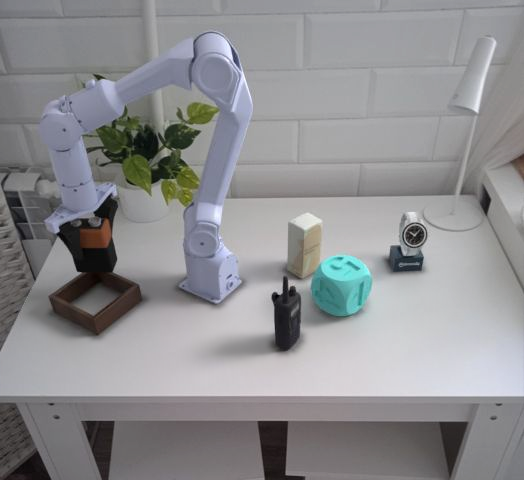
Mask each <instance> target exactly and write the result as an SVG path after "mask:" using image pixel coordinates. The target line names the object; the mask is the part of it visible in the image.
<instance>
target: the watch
mask: <svg viewBox="0 0 524 480" xmlns="http://www.w3.org/2000/svg"><path fill="white" fill-rule="evenodd" d="M398 233H399V234H398V239H399V241H398V242H399V243H400V244H395V245H390V247H389V255H388V260H389V261H388V262H389V264H390V267H391V269H392V272H394V273H398V272H414V271H415V272H417V271H422V270H423V264H424V260H425V259H424V258H425V256H424V254H423V252H422V249H423V248H424V245H425V244H426V242H427V241H428V237H430V231H428V229H427V227H426V226H425V223H424V221H423V218H421V217H420V215H419V213H418V212H417V211H408V212H402V214H401V218H400V222H399V231H398Z"/></svg>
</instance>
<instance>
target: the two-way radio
mask: <svg viewBox="0 0 524 480" xmlns="http://www.w3.org/2000/svg"><path fill="white" fill-rule="evenodd" d="M270 297H271V298H270V299H271V301H272V304H273V308H274V309H273V323H274V341H275V345H276V346H277V348H278V349H280V350H283V351H289V350H291V348H292V347H294V345H295V344H296V343H297V342H298V340H299V339H300V337H301V324H302V320H301V319H302V318H301V316H302V296H301V293H300V292H298V291H297V287H296V286H295V285H290V286H289V276H288V275H284V276H283V277H282V293H280V294H279V293H278V292H277V291H273V292H272V293H271V295H270Z"/></svg>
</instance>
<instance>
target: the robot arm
mask: <svg viewBox="0 0 524 480" xmlns="http://www.w3.org/2000/svg"><path fill="white" fill-rule="evenodd" d="M192 83H193V84H194V86H195V87H196V89H197V90H198V91H199V92H200V93H201V94H203V96H205V97H207V98H208V99H210V100H211V101H213V102H214V104H215V105H216V107H217V108H218V110H219V112H218V116H217V118H216V123H215V126H214V130H213V134H212V137H211V141H210V144H209V147H208V148H209V149H208V151H207V154H206V157H205V162H204V166H203V169H202V173H201V176H200V180H199V183H198V187H197V190H196V191H195V192H194V193H193V197H192V199H191V201H190V202H189V204H187V206H186V207H185V208H184V210H183V213H182V217H183V230H184V231H183V232H184V234H183V235H184V237H183V243H182V247H183V256H184V263H185V269H186V276H187V277H186V279H184V280H183V281H182V282H180V283H179V284H178V288H179V289H180V290H181V289H182V290H183V291H186V292H188V293H190V294H193V295H194V296H197V297H199V298H202V299H204V300H206V301H208V302H211V303H212V304H215V305H218V304H220V303H221V302H222V301H223V300H224V299H225V298H227V297H228V296H229V295H230V294H231V293H232V292H233V291H235V290H236V289H237V288H238V287H239V286H240V285H241V284H242V283H243V281H242V279H240V275H239V274H240V273H239V260H238V259H239V258H238V257H237V255H236V254H235V253H233V252H232V251H231V250H229V249H228V248H227V247H226V246H225V244H224V242H223V241H224V240H223V238H222V236H221V235H220V234H219V232H220V228H221V225H222V215H223V207H224V203H225V200H226V197H227V195H228V191H229V187H230V184H231V182H232V178H233V175H234V172H235V168H236V165H237V162H238V159H239V156H240V153H241V149H242V146H243V143H244V140H245V137H246V134H247V131H248V127H249V124H250V121H251V118H252V115H253V109H254V105H253V99H252V96H251V93H250V88H249V86H248V83H247V80H246V76H245V73H244V70H243V66H242V64H241V60H240V56H239V52H238V51H237V49H236V48H235V47H234V46H233V44H232V43H231V42H230V39H228V38H227V36H225V34H223V33H222V32H220V31H217V30H212V29H210V30H205V31H202V32H200V33H199V34H198V35H197V36H195V38H194V37H190V38H186V39H183V41H181V42H179V43H177V44H176V45H175V46H173V47H171V48H170V49H168V50H167V51H165V52H164V53H161V54H160V55H158V56H157V57H155V58H153V59H152V60H150V61H148V62H147V63H145V64H143V65H142V66H140V67H139V68H136V69H135V70H133V71H131V72H130V73H128V74H126V75H124V76H123V77H122V78H120V79H118V80H116V81H112V80H109V79H106V78H101V79H99V80H95V79H94V78H90V79H89V80H87V81H86V82H85V85H84V88H82V89H80V90H78V91H76V92H74V93H72V94H71V95H69V96H66V95H65V94H63V95H62V96H60V97H59V98H58V99H55V100H51V101H50V102H48V103H47V104H46V105H45V107H44V109H43V110H42V114H41V117H40V119H39V122H38V128H37V130H38V136H39V138H40V140H41V141H42V143H43V144H44V145H45V146H46V147H47V150H48V153H49V159H50V163H51V166H52V170H53V173H54V177H55V180H56V183H57V186H58V190H59V194H60V197H61V202H62V203H61V204H60V205H59V206H58V207H57V208H56V210H55V211H54V212H53V213H52V214H51V215H50V216H49V217H47V218H46V219H44V220H43V222H44V224H45V228H46V230H47V231H48V232H50V233H52V234H55V236H57V237H58V239H59V240H61V242H62V243H63V244H64V245H65V247H66V248H67V250H68V251H69V253H70V255H71V257H72V258H73V257H74V258H76V259H78V260H82V259H83V252H82V248H81V244H80V231H81V230H79V229H77V228H75V227H73V224H71V223H70V222H71V221H72V220H74V219H76V218H82V217H84V216H87V215H90V214H93V215H94V217H99V218H106V219H108V221H109V225H110V229H111V233H112V234H113V230H114V229H113V227H114V221H115V216H116V213H117V211H118V208H119V202H118V200H116V199H113V198H115V197H116V196H118V191H117V187H116V186H117V185H116V184H114V183H111V182H108V181H106V182H105V183H103V184H100V185H97V186H96V184H95V181H94V177H93V173H92V169H91V164H90V160H89V156H88V152H87V149H86V146H85V143H84V138H83V135H88V134H90V133H91V132H94V131H95V130H98V129H99V128H102V127H103V126H105V125H107V124H109V123H112V122H113V121H115V120H117V119H119V118H121V117H122V116H123V115H124V112H125V108H126V105H127V104H129V103H132V102H134V101H136V100H138V99H141V98H143V97H145V96H148V95H150V94H152V93H154V92H156V91H159V90H162V89H163V88H165V87H168V86H170V85H173V86H174V85H175V86H177V87H179V88H182V89H184V90H187V91H190V92H191V91H192Z"/></svg>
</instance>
